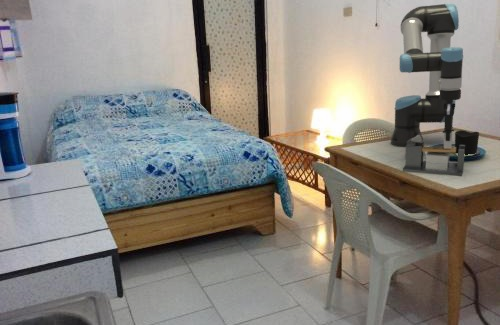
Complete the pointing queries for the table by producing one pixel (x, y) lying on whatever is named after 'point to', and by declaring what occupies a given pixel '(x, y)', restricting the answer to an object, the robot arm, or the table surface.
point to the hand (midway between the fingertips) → (447, 148)
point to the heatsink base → (432, 161)
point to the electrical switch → (416, 140)
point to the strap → (438, 149)
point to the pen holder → (467, 141)
